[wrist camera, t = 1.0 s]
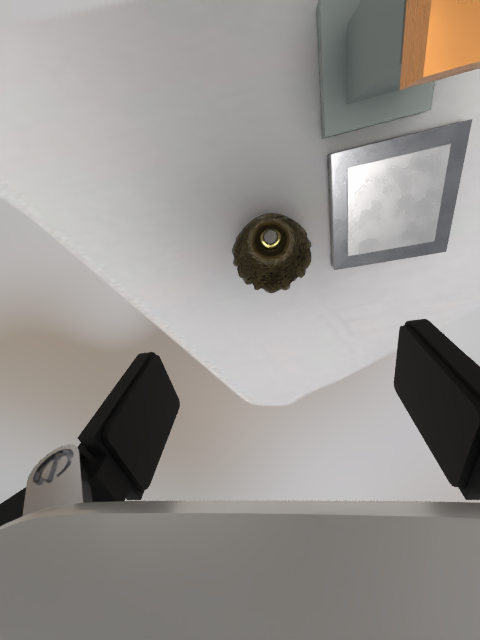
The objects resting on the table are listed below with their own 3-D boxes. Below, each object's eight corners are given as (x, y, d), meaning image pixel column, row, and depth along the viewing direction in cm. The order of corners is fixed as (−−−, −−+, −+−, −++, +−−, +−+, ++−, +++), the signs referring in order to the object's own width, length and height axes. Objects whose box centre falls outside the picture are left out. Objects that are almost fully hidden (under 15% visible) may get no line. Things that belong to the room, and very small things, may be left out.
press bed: (328, 154, 26) (331, 154, 24) (461, 121, 24) (473, 118, 22) (331, 265, 32) (334, 270, 30) (438, 247, 30) (447, 252, 28)
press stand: (316, 7, 21) (364, -145, 11) (439, -37, 19) (636, -268, 9) (322, 138, 25) (359, 120, 15) (421, 112, 24) (540, 72, 13)
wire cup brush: (274, 188, 28) (277, 195, 21) (314, 238, 30) (328, 259, 24) (227, 235, 31) (216, 254, 24) (266, 277, 33) (266, 305, 27)
